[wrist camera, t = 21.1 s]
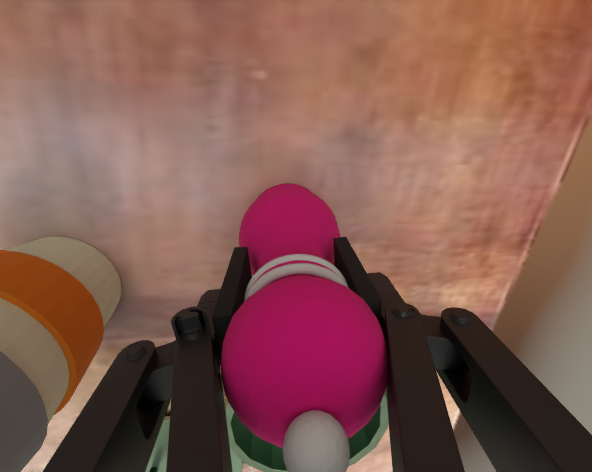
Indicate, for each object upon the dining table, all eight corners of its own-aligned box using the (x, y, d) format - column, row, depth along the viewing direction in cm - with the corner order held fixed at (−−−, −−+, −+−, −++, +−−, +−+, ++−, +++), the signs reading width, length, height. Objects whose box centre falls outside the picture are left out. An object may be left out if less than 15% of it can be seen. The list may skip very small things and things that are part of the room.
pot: (194, 321, 29) (172, 375, 23) (395, 301, 30) (426, 348, 23) (220, 423, 34) (208, 488, 28) (389, 404, 35) (413, 464, 29)
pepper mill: (339, 239, 27) (488, 518, 8) (265, 267, 27) (247, 590, 9) (311, 163, 24) (437, 322, 5) (230, 197, 25) (94, 445, 6)
